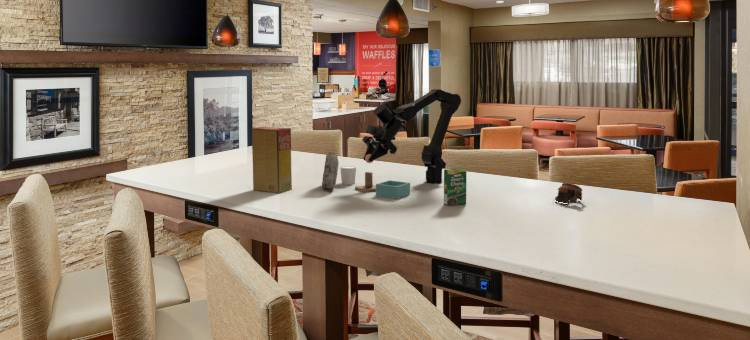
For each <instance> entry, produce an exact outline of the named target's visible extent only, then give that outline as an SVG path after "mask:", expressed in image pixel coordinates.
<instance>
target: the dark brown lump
mask: <svg viewBox="0 0 750 340" xmlns="http://www.w3.org/2000/svg"><path fill="white" fill-rule="evenodd" d="M557 191H558V192H557V196H555V198H554V201H555V200H556V201H558V202H557V203H559V202H563V203H568V204H569V202H570V203H571V204H575V203H577V201H578V199H580V200H581V201H582V200H583V193H582V192H583V188H582V187H580V185H577V184H574V183H570V182H563V183H562V184H561V186H559V188H557Z"/></svg>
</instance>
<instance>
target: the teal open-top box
mask: <svg viewBox="0 0 750 340" xmlns="http://www.w3.org/2000/svg"><path fill="white" fill-rule="evenodd" d="M375 186H376V191H375V196H377V197H384V198H388V199H389V198H390V199H397V200H398V199H400V198H403V197H407V196H409V195H411V182H406V181H399V180H390V179H389V180H386V181H382V182H378V183H375Z"/></svg>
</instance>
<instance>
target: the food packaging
mask: <svg viewBox="0 0 750 340" xmlns="http://www.w3.org/2000/svg"><path fill="white" fill-rule="evenodd" d="M291 131H292V128H290V127H276V126H274V127H273V126H260V127H252V128H251V146H252V147H251V149H252V152H251V153H252V181H253V182H252V186H253V191H258V192H264V193H271V194H282V193H284V192H285V193H286V192H288V191H293V188H292V187H293V185H292V184H293V183H292V179H293V178H292V175H293V174H292V132H291Z"/></svg>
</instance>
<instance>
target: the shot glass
mask: <svg viewBox="0 0 750 340" xmlns="http://www.w3.org/2000/svg"><path fill="white" fill-rule="evenodd" d="M339 170H340V179H341V184H342V185H348V186H350V185H355V183H356V173H357V167H356V166H355V165H354V166H353V165H345V166H340V167H339Z"/></svg>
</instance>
